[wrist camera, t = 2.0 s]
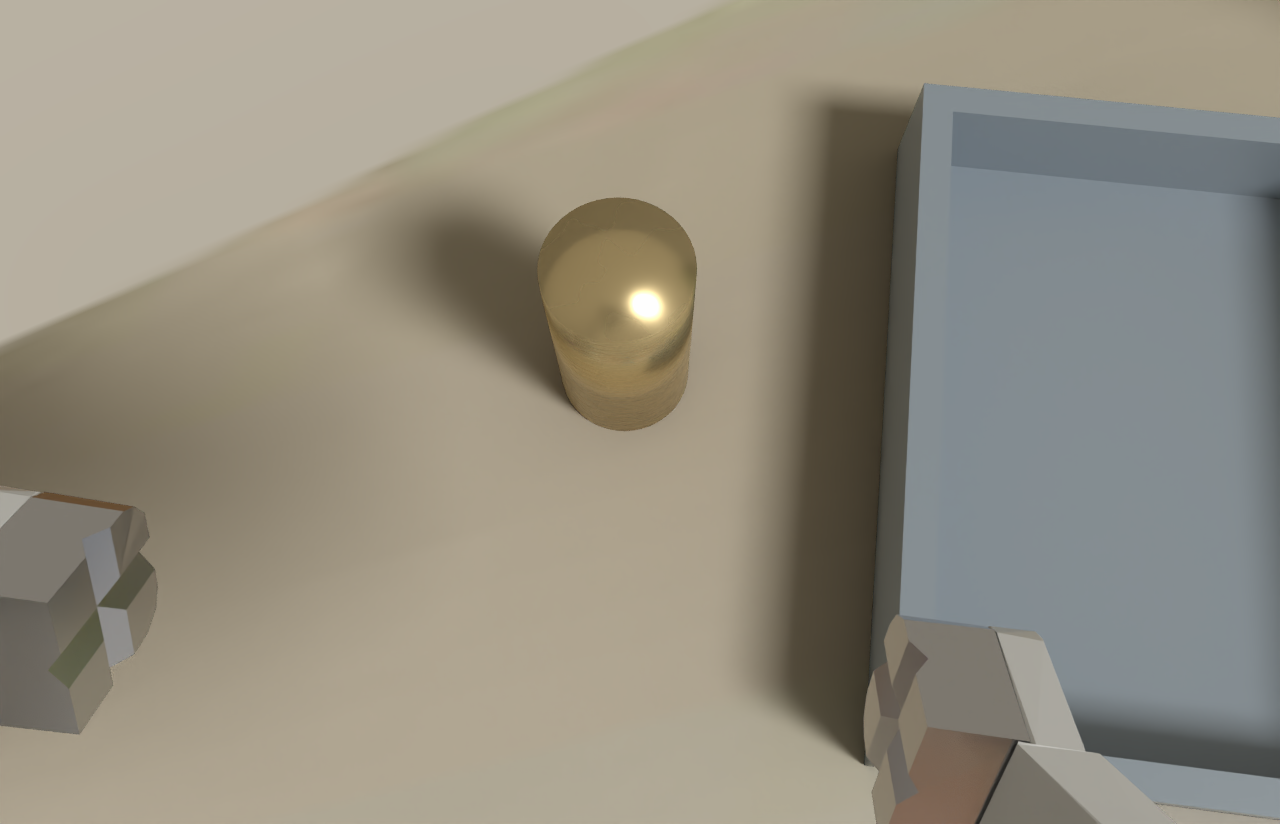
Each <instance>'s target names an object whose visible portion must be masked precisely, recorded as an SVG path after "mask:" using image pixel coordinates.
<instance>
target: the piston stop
mask: <svg viewBox="0 0 1280 824" xmlns="http://www.w3.org/2000/svg"><path fill="white" fill-rule="evenodd" d="M696 274H697V264H696V256H695V252H694V248H693V246H692V243H691V241H690V239H689V237H688V235H687V234H686V232H685V231H684V229H683V228H682V227H681V225H680V224H679V223H678V222H677V221H676V220H675V219H674V218H673V217H671V216H670V215H669V214H668V213H666V212H665V211H663V210H661V209H660V208H658V207H656V206H654V205H652V204H649V203H647V202H643V201H640V200H636V199H630V198H606V199H601V200H596V201H593V202H590V203H587V204H584V205H582V206H580V207H578V208H576V209H574V210H573V211H571V212H569V213H568V214H567V215H566V216H564V217H563V218H562V219H561V220H560V221H559V222H558V223H557V224H556V225H555V226H554V227H553V228H552V230H551V231H550V232H549V234H548V235H547V237H546V239H545V241H544V243H543V245H542V248H541V250H540V254H539V258H538V266H537V277H538V283H539V288H540V292H541V296H542V301H543V305H544V309H545V313H546V317H547V321H548V325H549V329H550V333H551V337H552V341H553V345H554V349H555V353H556V357H557V361H558V365H559V369H560V373H561V377H562V381H563V385H564V388H565V391H566V394H567V396H568V398H569V400H570V402H571V403H572V405H573V406H574V408H575V409H576V410H577V411H578V412H579V413H580V414H581V415H582V416H584V417H585V418H586V419H588V420H589V421H591V422H592V423H594V424H596V425H598V426H601V427H604V428H607V429H612V430H618V431H630V430H637V429H642V428H645V427H648V426H651V425H653V424H655V423H657V422H658V421H660V420H662V419H663V418H664V417H666V416H667V415H668V414H669V413H670V412H671V411H672V410H673V409H674V408H675V407H676V405H677V404H678V402H679V401H680V399H681V397H682V395H683V393H684V390H685V387H686V384H687V378H688V368H689V356H690V345H691V333H692V321H693V310H694V298H695V287H696Z"/></svg>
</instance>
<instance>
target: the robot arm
mask: <svg viewBox="0 0 1280 824" xmlns="http://www.w3.org/2000/svg"><path fill="white" fill-rule="evenodd" d="M149 537H150V536H149V532H148V527H147V522H146V518H145V513H144V512H142V511H141V510H139V509H137V508H136V507H134V506H128V505H122V504H116V503H110V502H103V501H97V500H91V499H85V498H79V497H73V496H67V495H61V494H55V493H49V492H44V493H42V492H37V491H31V490H25V489H19V488H13V487H7V486H1V485H0V726H8V727H17V728H26V729H35V730H44V731H53V732H62V733H71V734H80V733H81V732H82V730H83V729H84V728H85V726H86V725H87V723H88V722H89V720H90V719H91V717H92V716H93V714H94V713H95V711H96V710H97V708H98V707H99V706H100V704H101V703H102V701H103V700H104V698H105V697H106V695H107V694H108V692H109V691H110V689H111V688H112V686H113V682H112V677H111V672H110V667H111V666H113V665H115V664H117V663H119V662H121V661H122V660H124V659H126V658H128V657H130V656H132V655H133V654H135V652H136V651H137V649H138V648H139V646H140V644H141V643H142V641H143V640H144V638H145V637H146V635H147V634H148V631H149V628H150V625H151V622H152V619H153V616H154V613H155V610H156V604H157V590H158V586H157V579H156V572H155V569H154V567H153V566H152V565H151V564H150V563H149V562H148V561H147V560H146V559H145V558H144V557H143V556H142V555H141V554H140V552H139V551H140V550H141V548H142V547H143V546H144V544H145V543H146V541H147V540H148V539H149ZM884 645H885V651H886V657H887V662H886V663H884V664H883V665H881V666H880V667H878V668H877V669H875V670H874V671H873V674H872V677H871V681H870V684H869V687H868V691H867V695H866V703H865V710H864V742H865V749H866V757H867V758H868V759H869V760H870V762H871V763H872V764H873V765H874V766H875V767H876V768H877V770H878V771H879V773H878V776H877V778H876V781H875V784H874V787H873V789H872V798H873V805H874V811H875V818H876V824H1177V823H1176V822H1175V821H1173V820H1172V819H1171V818H1170V817H1169V816H1168V815H1167V814H1166V813H1165V812H1164V811H1162V810H1161V809H1160V808H1159V807H1158V806H1157V805H1156V804H1155V803H1154V802H1153V801H1151V800H1150V799H1149V798H1148V797H1147V796H1146V795H1145V794H1144V793H1143V792H1142V791H1140V790H1139V789H1138V788H1137V787H1136V786H1135V785H1134V784H1133V783H1132V782H1130V781H1129V780H1128V779H1127V778H1126V777H1125V776H1124V775H1123V774H1122V773H1121V772H1119V771H1118V770H1117V769H1116V768H1115V767H1114V766H1113V765H1112V764H1111V763H1110V762H1108V761H1107V760H1106V759H1105V758H1104V757H1103V756H1102V755H1101V754H1099V753H1092V752H1086V751H1085V748H1084V745H1083V743H1082V740H1081V737H1080V735H1079V732H1078V730H1077V727H1076V724H1075V722H1074V719H1073V717H1072V714H1071V711H1070V709H1069V706H1068V703H1067V701H1066V698H1065V696H1064V693H1063V690H1062V688H1061V685H1060V682H1059V680H1058V677H1057V675H1056V672H1055V669H1054V667H1053V664H1052V661H1051V659H1050V656H1049V654H1048V651H1047V648H1046V646H1045V643H1044V641H1043V638H1042V637H1041V636H1040V635H1038V634H1037V633H1036V632H1035V631H1026V630H1018V629H1010V628H1002V627H994V626H989V627H985V626H979V625H972V624H964V623H957V622H949V621H942V620H935V619H927V618H920V617H912V616H905V615H897V614H896V616H895V617H894V619H893V620H892V621H891V623H890V625H889V628H888V630H887V633H886V636H885V639H884Z"/></svg>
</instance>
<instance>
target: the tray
mask: <svg viewBox="0 0 1280 824" xmlns="http://www.w3.org/2000/svg"><path fill="white" fill-rule="evenodd" d="M896 614H897V615H905V616H912V617H920V618H927V619H935V620H942V621H949V622H957V623H964V624H972V625H979V626H985V627H989V626H994V627H1002V628H1010V629H1018V630H1026V631H1035V632H1036V633H1037V634H1038V635H1040V636H1041V637H1042V638H1043V641H1044V643H1045V646H1046V648H1047V651H1048V654H1049V656H1050V659H1051V661H1052V664H1053V667H1054V669H1055V672H1056V675H1057V677H1058V680H1059V682H1060V685H1061V688H1062V690H1063V693H1064V696H1065V698H1066V701H1067V703H1068V706H1069V709H1070V711H1071V714H1072V717H1073V719H1074V722H1075V724H1076V727H1077V730H1078V732H1079V735H1080V737H1081V740H1082V743H1083V745H1084V748H1085V751H1086V752H1092V753H1099V754H1101V755H1102V756H1103V757H1104V758H1105V759H1106V760H1107V761H1108V762H1110V763H1111V764H1112V765H1113V766H1114V767H1115V768H1116V769H1117V770H1118V771H1119V772H1121V773H1122V774H1123V775H1124V776H1125V777H1126V778H1127V779H1128V780H1129V781H1130V782H1132V783H1133V784H1134V785H1135V786H1136V787H1137V788H1138V789H1139V790H1140V791H1142V792H1143V793H1144V794H1145V795H1146V796H1147V797H1148V798H1149V799H1150V800H1151V801H1153V802H1154V803H1155V804H1161V805H1168V806H1176V807H1184V808H1191V809H1199V810H1206V811H1214V812H1221V813H1229V814H1237V815H1244V816H1252V817H1259V818H1267V819H1274V820H1280V118H1276V117H1266V116H1255V115H1245V114H1235V113H1224V112H1214V111H1204V110H1194V109H1183V108H1173V107H1163V106H1152V105H1142V104H1132V103H1121V102H1111V101H1101V100H1090V99H1080V98H1070V97H1059V96H1049V95H1039V94H1029V93H1018V92H1008V91H998V90H987V89H977V88H967V87H956V86H946V85H936V84H925V83H924V85H923V88H922V90H921V93H920V95H919V98H918V100H917V102H916V105H915V107H914V110H913V112H912V115H911V117H910V120H909V122H908V125H907V127H906V130H905V132H904V135H903V137H902V140H901V142H900V145H899V147H898V152H897V171H896V189H895V207H894V225H893V244H892V262H891V280H890V299H889V317H888V335H887V353H886V372H885V390H884V408H883V427H882V445H881V463H880V481H879V500H878V518H877V536H876V555H875V573H874V591H873V609H872V628H871V646H870V664H869V683H868V687H869V684H870V681H871V677H872V674H873V671H874V670H875V669H877V668H878V667H880V666H881V665H883V664H884V663H886V662H887V657H886V651H885V645H884V639H885V636H886V633H887V630H888V628H889V625H890V623H891V621H892V620H893V619H894V617H895V616H896ZM864 765H866V766H873V767H875V766H874V765H873V764H872V763H871V762H870V760H869V759H868V758H867V757H866V749H865V756H864Z"/></svg>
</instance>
